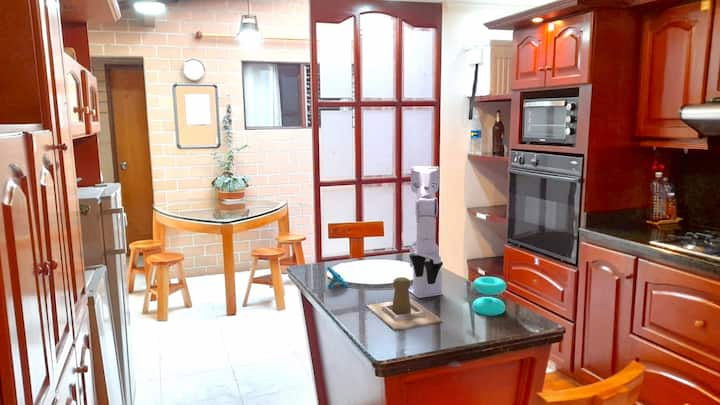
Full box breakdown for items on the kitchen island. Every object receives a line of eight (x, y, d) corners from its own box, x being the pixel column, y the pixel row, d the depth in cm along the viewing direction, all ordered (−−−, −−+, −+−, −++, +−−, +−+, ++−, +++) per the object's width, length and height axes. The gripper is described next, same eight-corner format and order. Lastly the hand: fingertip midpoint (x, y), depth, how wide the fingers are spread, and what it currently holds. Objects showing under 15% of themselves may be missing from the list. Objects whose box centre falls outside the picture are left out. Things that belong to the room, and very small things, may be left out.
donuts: (490, 287, 155) (466, 278, 163) (488, 319, 157) (465, 309, 165) (513, 282, 160) (489, 273, 169) (512, 312, 162) (488, 303, 170)
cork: (405, 317, 157) (406, 282, 155) (388, 313, 160) (388, 279, 158) (414, 311, 162) (415, 277, 160) (397, 307, 165) (397, 274, 163)
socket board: (410, 299, 173) (411, 294, 173) (442, 321, 155) (442, 316, 155) (366, 306, 167) (366, 301, 167) (394, 330, 149) (394, 324, 149)
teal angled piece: (350, 287, 181) (330, 267, 180) (338, 299, 181) (318, 280, 180) (348, 281, 192) (329, 262, 191) (337, 293, 192) (318, 274, 191)
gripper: (403, 233, 164) (402, 274, 166) (426, 244, 151) (425, 288, 153) (423, 231, 166) (422, 272, 169) (447, 241, 153) (446, 285, 156)
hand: (425, 280), depth 161 cm, fingers open, 7 cm apart
